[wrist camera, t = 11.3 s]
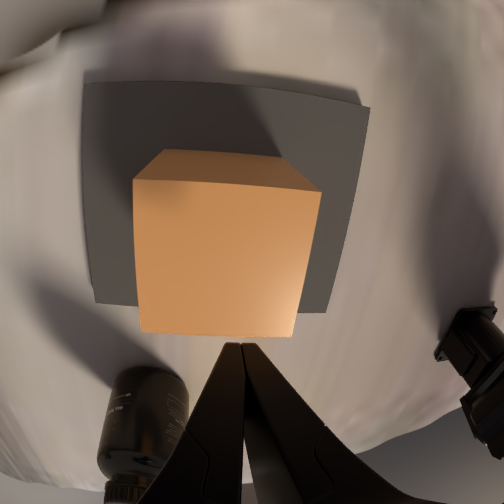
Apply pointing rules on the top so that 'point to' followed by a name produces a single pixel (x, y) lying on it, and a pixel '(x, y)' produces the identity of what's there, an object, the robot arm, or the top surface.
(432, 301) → the top surface
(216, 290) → the rounded wooden cube
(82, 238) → the top surface
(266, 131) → the dark gray mat
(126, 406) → the supplement bottle
